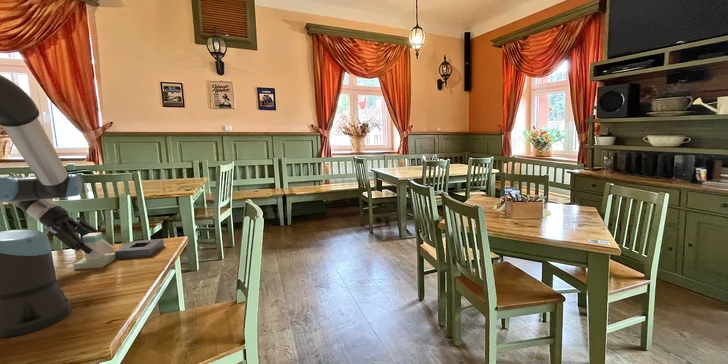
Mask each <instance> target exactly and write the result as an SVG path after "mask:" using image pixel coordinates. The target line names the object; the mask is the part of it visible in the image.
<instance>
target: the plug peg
mask: <svg viewBox="0 0 728 364" xmlns="http://www.w3.org/2000/svg"><path fill="white" fill-rule="evenodd" d="M99 232H100V233H89V234H87V235H85V236H82V235H81V240H82V241H83V242H84V243H85V244H86V243H89V244H90V245H91V246H93V247H94V248H96V249H97V250H98V251H100V252H101V253H103V255H102V256H101V257H100V259H99V260H101V259H103V258H104V257H105V254H106V251H104V245H103V239H104V237H103V234H102V232H101V231H99ZM84 255H85V257H86V261H99V260H96V259H94V258H93V257H92V256H90V255H89V254H87V253H85V252H84Z"/></svg>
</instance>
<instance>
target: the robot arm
mask: <svg viewBox="0 0 728 364" xmlns="http://www.w3.org/2000/svg"><path fill="white" fill-rule="evenodd" d="M39 117H40V110H39V108H38V106H37V105H36V102H35V101H34V100H33V99H32V98H31V97H30V95H29V94H28V93H26V91H25V90H24V89H23V88H21V87H20V86H19V85H17V84H16V83H15V82H13V81H12V80H11V79H9V78H7V77H5V76H3V75H2V74H0V127H2V129H3V130H4V132H5V133H6V134H7V136H8V138H9V139H10V140H11V142H12V144H13V145H14V147H15V148H16V150H17V151H18V153H19V154H20V156H21V157H22V158H23V160H24V161H25V163H26V164H27V166H28V167H29V169H30V171H31V172H32V173H33V175H34V176H30V177H27V176H26V177H17V176H16V177H9V176H0V202H1V203H8V204H11V205H15V206H16V207H18V209H19V208H20V209H21V210H22V211H24V212H25V213H26V214H28V215H29V216H30V217H32V218H33V219H35V220H37V221H39V223H40V224H42V225H43V226H44V227H46V228H48V229H49V228H50V229H49V231H48V232H47V233H49V234H50V235H52V236H54V237H55V238H57V239H58V240H59V241H61V243H64V244H65V246H68V248H69V249H71V250H74V251H75V252H76V251H77V252H78V251H80V250H81V251H83V252H84V254H85V253H87V254H89V255H90V256H92V257H93V258H94V259H96V260H99V259H100V257H101V256H102V255H103V253H101V252H100V251H98V250H97V249H96V248H94V247H93V246H91V245H90V244H89V243H86V244H85V243H84V242H83V240H82V236H85V235H87V234H89V233H100V232H101V231H99V230H98V229H96V228H95V227H93V226H92V225H91V224H90V223H87V222H86V221H84V220H83V218H82V217H80V216H78V217H77V218H73V217H71V216H69V215H68V214H69V212H68V211H67V209H65V208H63V207H62V206H61V205H58V203H57V202H56V201H54V200H53V199H61V198H62V199H63V198H64V199H65V198H71V197H76V196H78V197H79V196H80V195H81V194H82V192H83V181H82V178H81V176H80V175H78V174H76V173H75V174H74V173H73V174H72V173H70V174H68V171H67V170H66V168H65V166H64V164H63V162H62V160H61V158H60V157H59V155H58V153H57V151H56V149H55V148H54V146H53V144H52V142H51V140H50V138H49V137H48V135H47V133H46V130H45V129H44V127H43V126H42V123H41V122H40V120H39ZM79 235H80V236H81V237H80V236H79ZM103 245H104V252H105V253H106V254H107V253H108V254H109V253H112V251H114V249H115V247H114V246H113V245H111V244H110V243H109V242H107V241H106V240H105V239H104V238H103ZM52 250H53V247H52V246H51V244H50V239H49V236H48V235H47V234H46V233H45V232H43V231H40V230H35V229H12V230H10V229H9V230H5V231H0V339H1V338H10V337H12V338H13V337H17V336H22V335H26V334H29V333H33V332H36V331H39V330H42V329H44V328H47V327H48V326H51V325H53V324H55V323H57V322H59V321H61V320H62V319H64V318H65V317H66V316H68V315H69V314H70V312H71V310H72V308H71V304H70V303H71V302H70V300H69V299H68V298H67V297H66V295H65V294H64V292H63V290H62V289H61V287H60V286H59V284H58V281H57V276H56V275H57V274H56V269H55V264H54V258H53V252H52Z"/></svg>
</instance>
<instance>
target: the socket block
mask: <svg viewBox="0 0 728 364" xmlns="http://www.w3.org/2000/svg"><path fill="white" fill-rule="evenodd" d="M163 247H165V243H164V238H158V239H143V240H142V239H141V240H131V241H130V242H128V243H126V244H124V245H123V246H121V247H120V248H118V249H117V250H115V251H114V253H115V256H116V259H115V260H120V259H123V260H125V259H132V258H133V259H134V258H135V259H136V258H137V259H138V258H150V257H152V255H154V254H155V253H156V252H158V251H159V250H161V249H162V248H163Z"/></svg>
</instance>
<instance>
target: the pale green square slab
mask: <svg viewBox="0 0 728 364" xmlns="http://www.w3.org/2000/svg"><path fill="white" fill-rule="evenodd" d="M115 260H117V259H116V256H115V252H110V253H109V254H108V253H107V252H106V253H105V257H104V258H103V259H101V260H99V261H86V256H85V257H83V258H82V259H80V260H78V261H76V262H74V263H73V267H74V270H84V269H85V270H86V269H97V268H99V269H101V268H104V267H106V266H107V265H108V264H110V263H111V262H113V261H115Z"/></svg>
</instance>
